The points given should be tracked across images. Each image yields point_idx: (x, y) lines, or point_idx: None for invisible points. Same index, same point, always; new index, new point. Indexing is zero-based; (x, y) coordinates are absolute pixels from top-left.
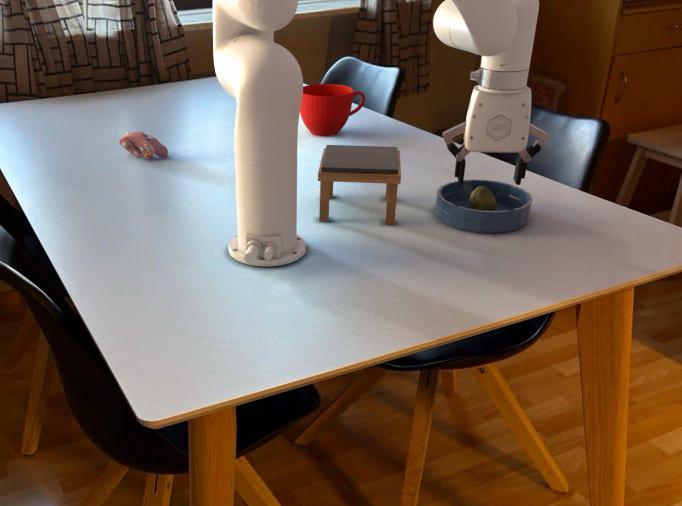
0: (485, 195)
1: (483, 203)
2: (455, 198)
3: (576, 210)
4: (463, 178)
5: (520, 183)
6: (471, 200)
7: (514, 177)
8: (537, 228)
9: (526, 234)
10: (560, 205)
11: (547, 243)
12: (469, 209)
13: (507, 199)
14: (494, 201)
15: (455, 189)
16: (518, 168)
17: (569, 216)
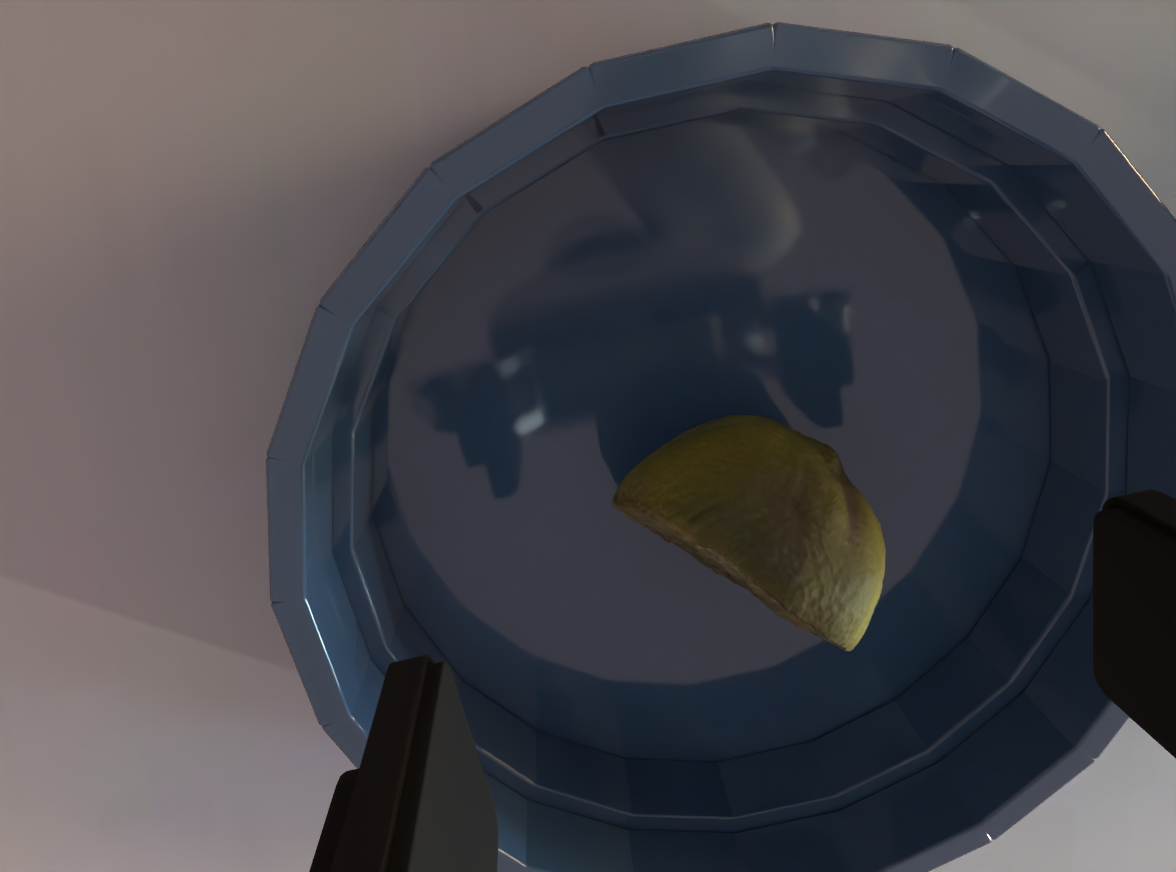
0: (758, 484)
1: (746, 425)
2: (937, 682)
3: (30, 816)
4: (1145, 534)
5: (388, 666)
6: (859, 492)
7: (486, 810)
8: (231, 373)
9: (294, 202)
10: (162, 864)
11: (69, 37)
12: (919, 50)
13: (536, 757)
14: (643, 484)
15: (983, 743)
16: (421, 822)
17: (48, 695)
